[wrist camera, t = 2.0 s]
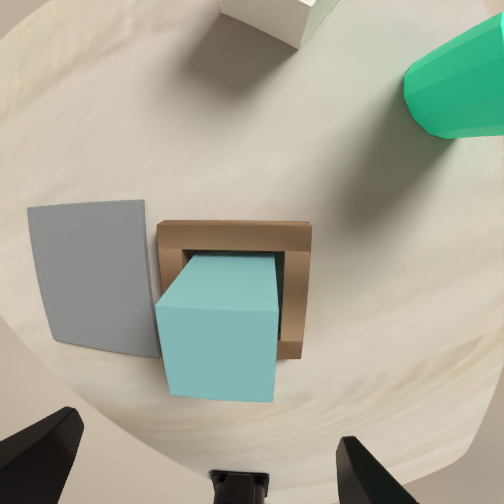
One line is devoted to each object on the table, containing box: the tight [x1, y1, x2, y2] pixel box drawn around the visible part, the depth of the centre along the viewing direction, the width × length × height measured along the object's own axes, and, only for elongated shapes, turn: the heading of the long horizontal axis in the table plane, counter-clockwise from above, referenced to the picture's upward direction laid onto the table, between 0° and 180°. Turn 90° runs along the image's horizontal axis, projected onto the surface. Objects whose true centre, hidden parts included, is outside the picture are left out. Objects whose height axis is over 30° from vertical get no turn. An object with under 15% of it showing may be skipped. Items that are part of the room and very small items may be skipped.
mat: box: [27, 200, 161, 358], centre depth 20 cm, size 12×11×1 cm
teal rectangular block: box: [155, 252, 279, 402], centre depth 16 cm, size 5×5×8 cm
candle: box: [404, 12, 504, 139], centre depth 10 cm, size 6×6×12 cm
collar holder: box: [157, 220, 312, 359], centre depth 19 cm, size 9×9×2 cm
